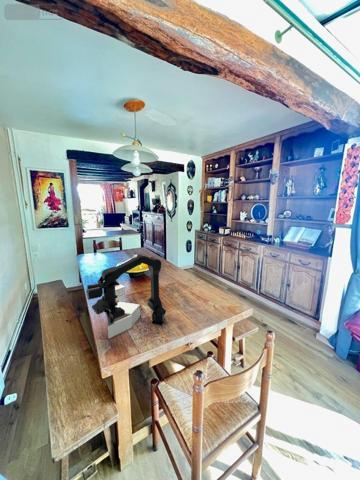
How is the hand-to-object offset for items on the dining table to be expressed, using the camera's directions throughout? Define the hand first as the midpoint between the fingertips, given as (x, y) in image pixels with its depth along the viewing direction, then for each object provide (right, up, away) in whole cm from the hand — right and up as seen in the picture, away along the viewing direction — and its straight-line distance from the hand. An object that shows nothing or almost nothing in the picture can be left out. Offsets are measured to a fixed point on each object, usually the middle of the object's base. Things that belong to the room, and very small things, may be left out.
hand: (110, 322), depth 104 cm
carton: (+3, -6, +18) cm, 19 cm away
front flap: (+4, -8, +6) cm, 10 cm away
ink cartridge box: (-8, -2, +38) cm, 39 cm away
